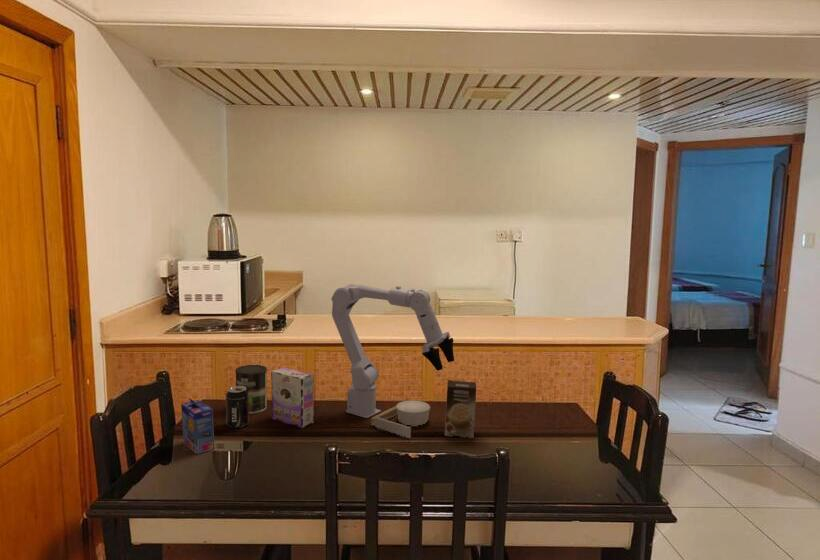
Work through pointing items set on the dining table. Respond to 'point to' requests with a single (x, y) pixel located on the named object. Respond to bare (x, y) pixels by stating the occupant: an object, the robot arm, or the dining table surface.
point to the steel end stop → (393, 427)
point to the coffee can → (254, 385)
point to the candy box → (292, 397)
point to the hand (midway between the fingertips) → (445, 365)
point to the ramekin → (413, 412)
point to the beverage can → (237, 407)
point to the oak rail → (385, 415)
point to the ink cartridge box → (197, 426)
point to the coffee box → (460, 409)
